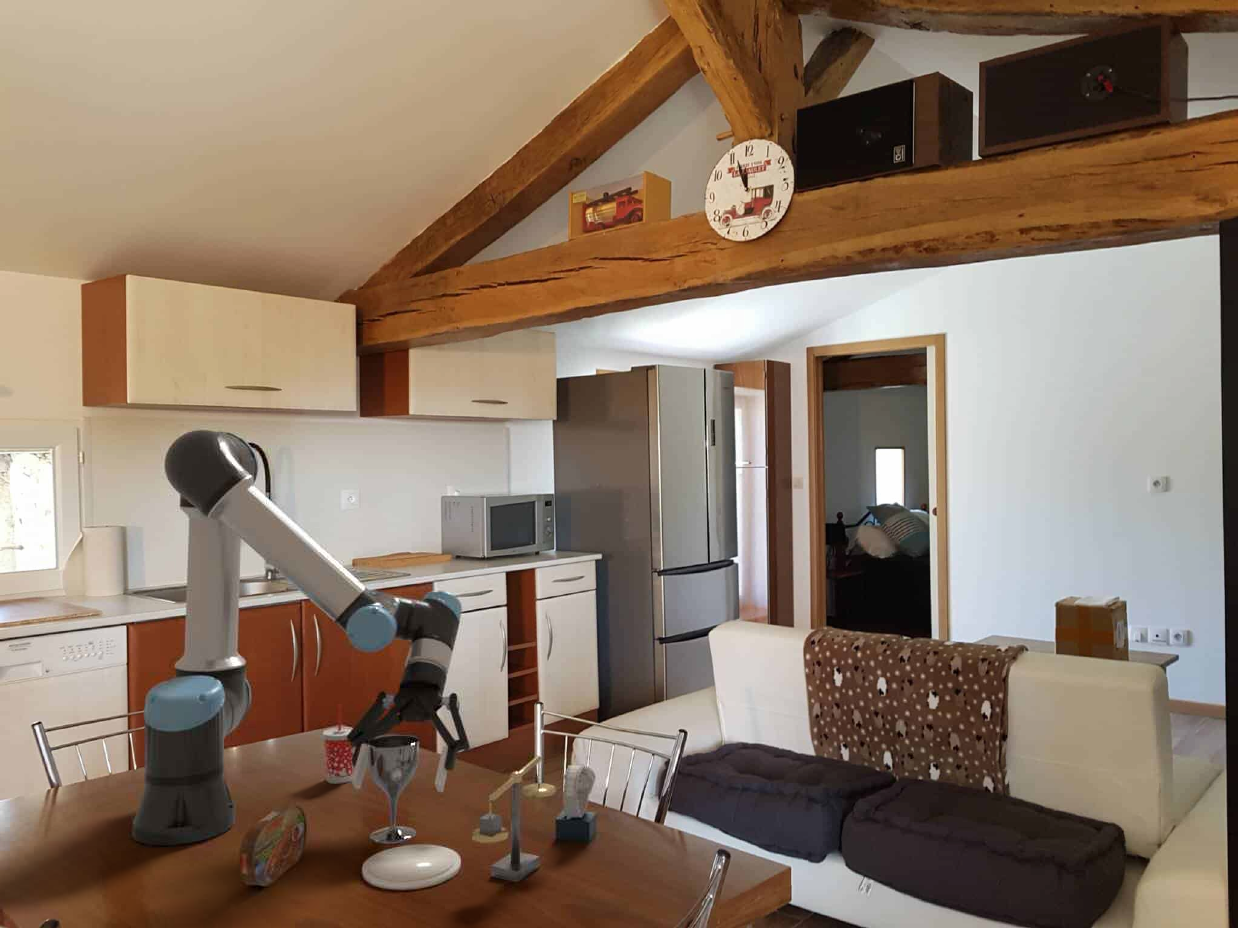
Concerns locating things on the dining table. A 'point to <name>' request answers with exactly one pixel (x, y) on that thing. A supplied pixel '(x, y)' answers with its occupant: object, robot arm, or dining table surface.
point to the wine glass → (393, 777)
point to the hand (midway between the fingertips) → (396, 786)
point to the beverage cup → (338, 753)
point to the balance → (512, 826)
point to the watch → (576, 805)
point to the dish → (411, 867)
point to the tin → (272, 845)
